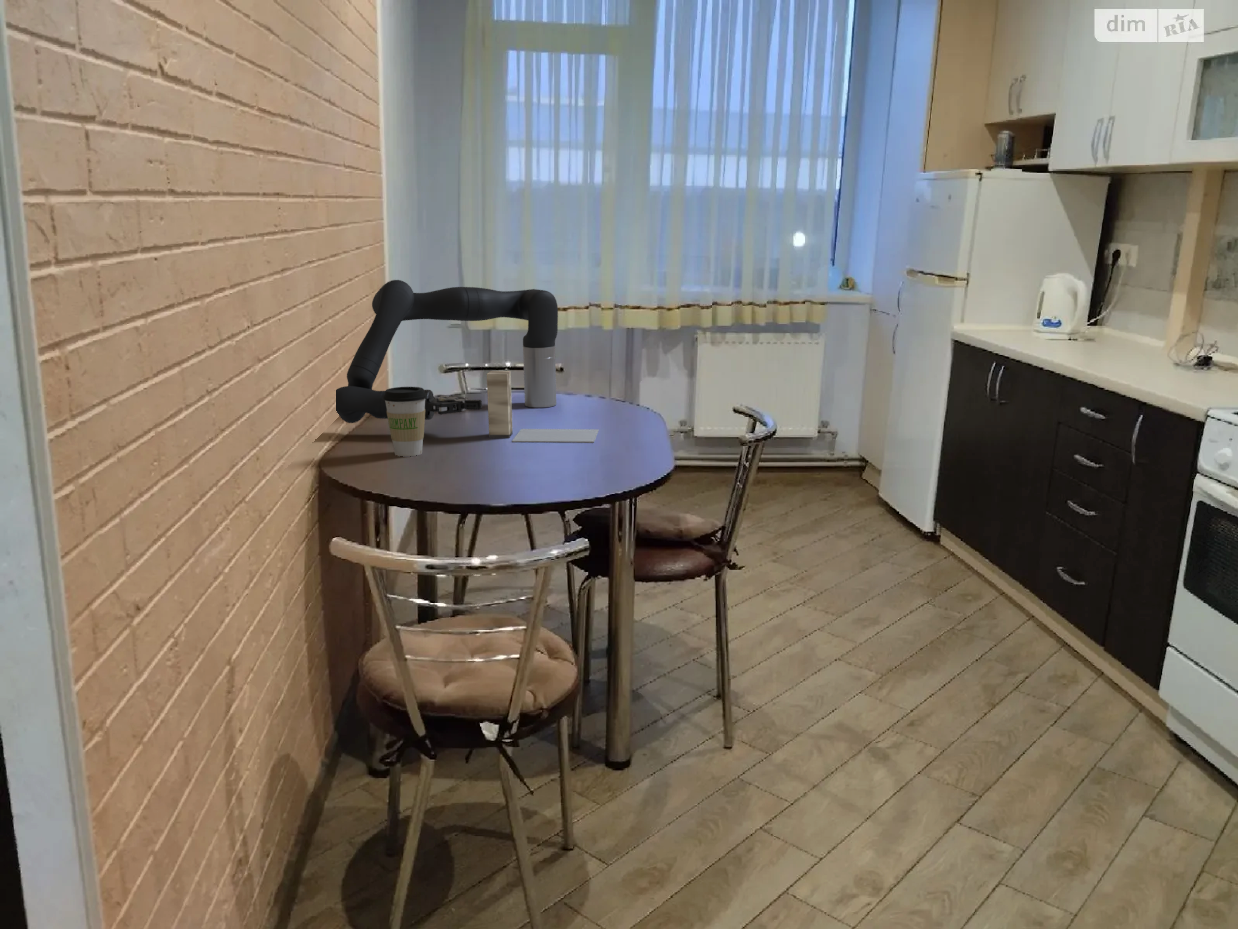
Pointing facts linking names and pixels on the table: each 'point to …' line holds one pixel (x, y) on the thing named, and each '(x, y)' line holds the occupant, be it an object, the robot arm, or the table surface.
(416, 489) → the table surface
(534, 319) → the robot arm
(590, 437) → the grey mat
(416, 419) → the coffee cup
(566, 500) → the table surface
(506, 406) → the birch block
